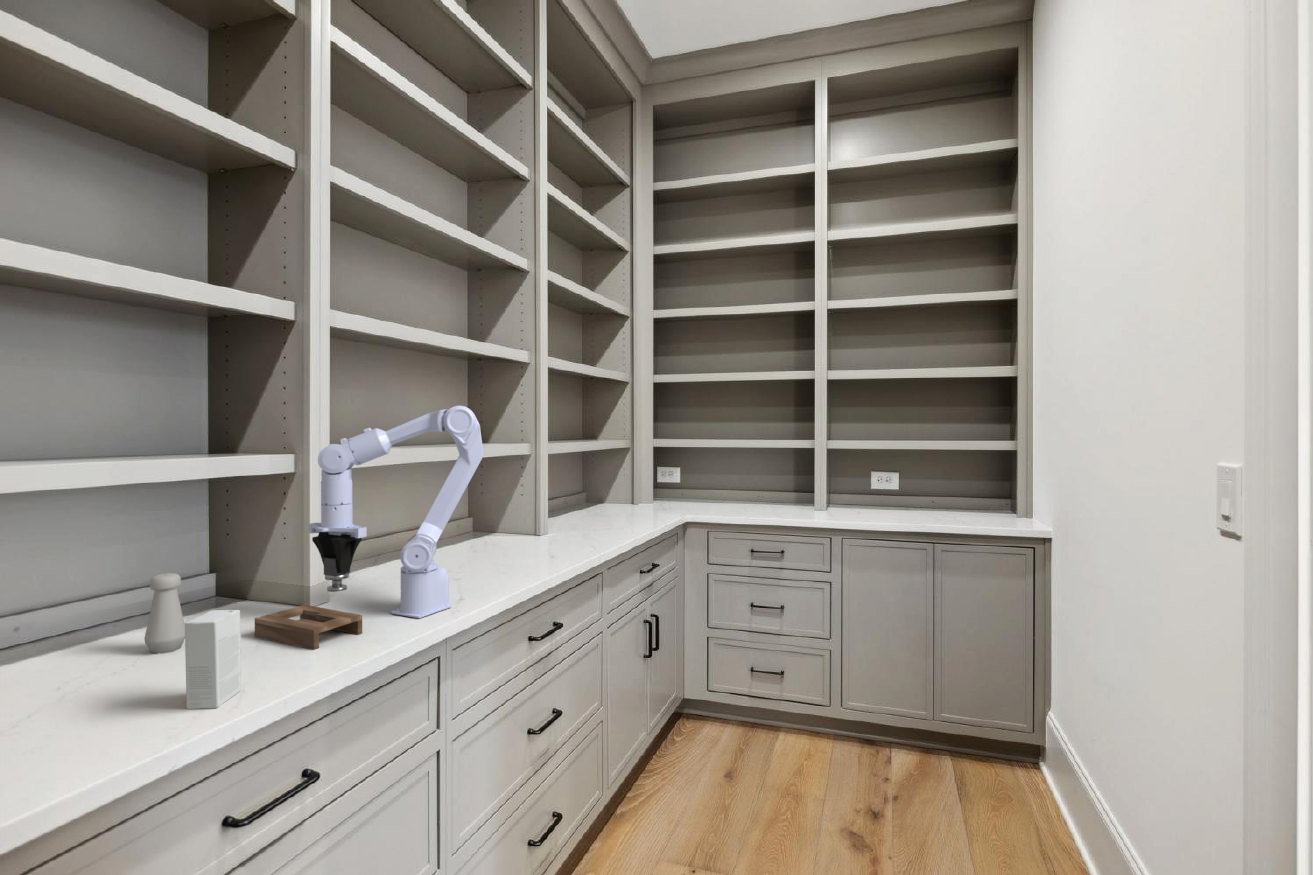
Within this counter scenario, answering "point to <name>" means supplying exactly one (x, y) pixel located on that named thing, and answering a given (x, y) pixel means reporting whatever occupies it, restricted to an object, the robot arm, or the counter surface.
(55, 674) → the counter surface
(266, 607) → the counter surface
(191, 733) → the counter surface
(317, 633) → the keyhole plate
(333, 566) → the dark grey key plug
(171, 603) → the salt shaker
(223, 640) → the skincare box
